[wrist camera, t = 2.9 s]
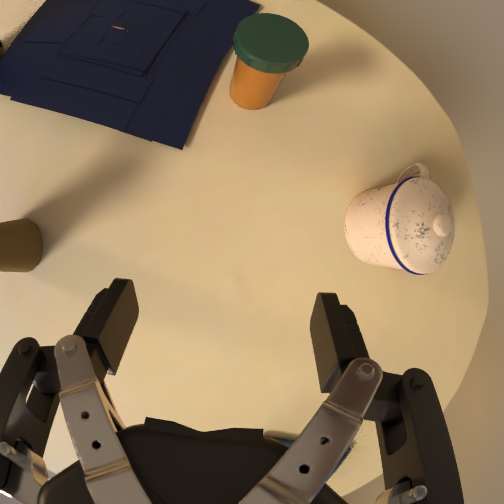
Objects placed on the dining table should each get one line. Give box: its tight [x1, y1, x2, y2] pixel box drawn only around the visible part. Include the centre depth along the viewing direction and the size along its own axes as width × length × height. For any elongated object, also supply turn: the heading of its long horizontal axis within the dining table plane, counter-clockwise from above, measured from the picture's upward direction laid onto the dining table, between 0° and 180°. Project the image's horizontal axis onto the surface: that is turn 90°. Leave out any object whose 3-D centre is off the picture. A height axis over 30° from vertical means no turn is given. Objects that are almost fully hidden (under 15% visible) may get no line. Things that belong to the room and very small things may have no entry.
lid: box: [233, 13, 309, 74], centre depth 19 cm, size 6×6×2 cm
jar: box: [229, 56, 287, 110], centre depth 23 cm, size 5×5×10 cm
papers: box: [0, 0, 260, 150], centre depth 23 cm, size 24×30×4 cm
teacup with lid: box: [345, 162, 455, 275], centre depth 26 cm, size 12×9×12 cm
